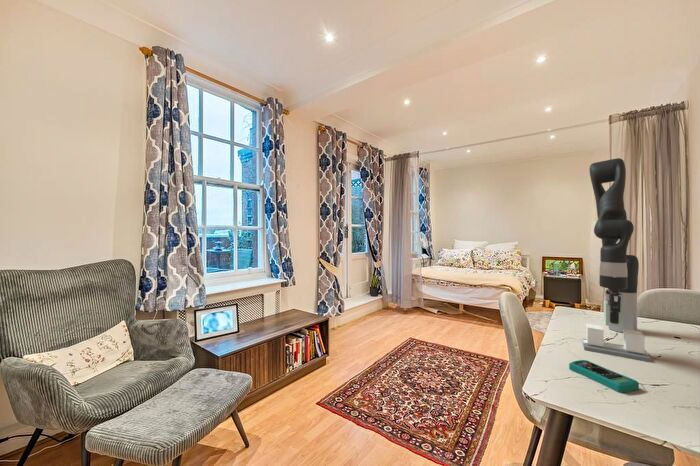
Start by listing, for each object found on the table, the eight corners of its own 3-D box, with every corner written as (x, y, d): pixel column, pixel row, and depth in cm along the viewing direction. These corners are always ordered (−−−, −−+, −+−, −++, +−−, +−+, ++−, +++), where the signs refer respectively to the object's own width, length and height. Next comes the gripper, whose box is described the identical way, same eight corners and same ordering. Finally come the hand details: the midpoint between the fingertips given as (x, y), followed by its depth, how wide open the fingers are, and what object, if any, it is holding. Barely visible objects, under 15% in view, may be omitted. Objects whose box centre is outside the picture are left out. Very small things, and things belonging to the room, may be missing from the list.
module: (603, 321, 109) (603, 299, 109) (620, 323, 106) (620, 301, 106) (605, 325, 104) (605, 302, 104) (622, 327, 101) (622, 304, 101)
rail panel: (582, 341, 114) (582, 321, 114) (643, 352, 104) (643, 330, 104) (584, 349, 106) (584, 328, 106) (650, 362, 96) (650, 338, 96)
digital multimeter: (584, 367, 94) (584, 358, 94) (640, 391, 79) (640, 380, 79) (566, 369, 92) (566, 360, 92) (620, 395, 77) (620, 384, 77)
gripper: (597, 271, 113) (597, 315, 113) (601, 276, 101) (601, 324, 101) (623, 273, 109) (623, 318, 109) (631, 278, 97) (631, 328, 97)
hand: (613, 320), depth 105 cm, fingers closed on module, 5 cm apart
